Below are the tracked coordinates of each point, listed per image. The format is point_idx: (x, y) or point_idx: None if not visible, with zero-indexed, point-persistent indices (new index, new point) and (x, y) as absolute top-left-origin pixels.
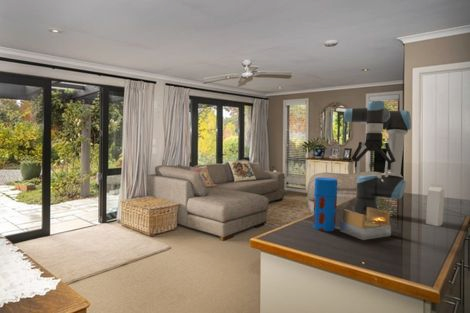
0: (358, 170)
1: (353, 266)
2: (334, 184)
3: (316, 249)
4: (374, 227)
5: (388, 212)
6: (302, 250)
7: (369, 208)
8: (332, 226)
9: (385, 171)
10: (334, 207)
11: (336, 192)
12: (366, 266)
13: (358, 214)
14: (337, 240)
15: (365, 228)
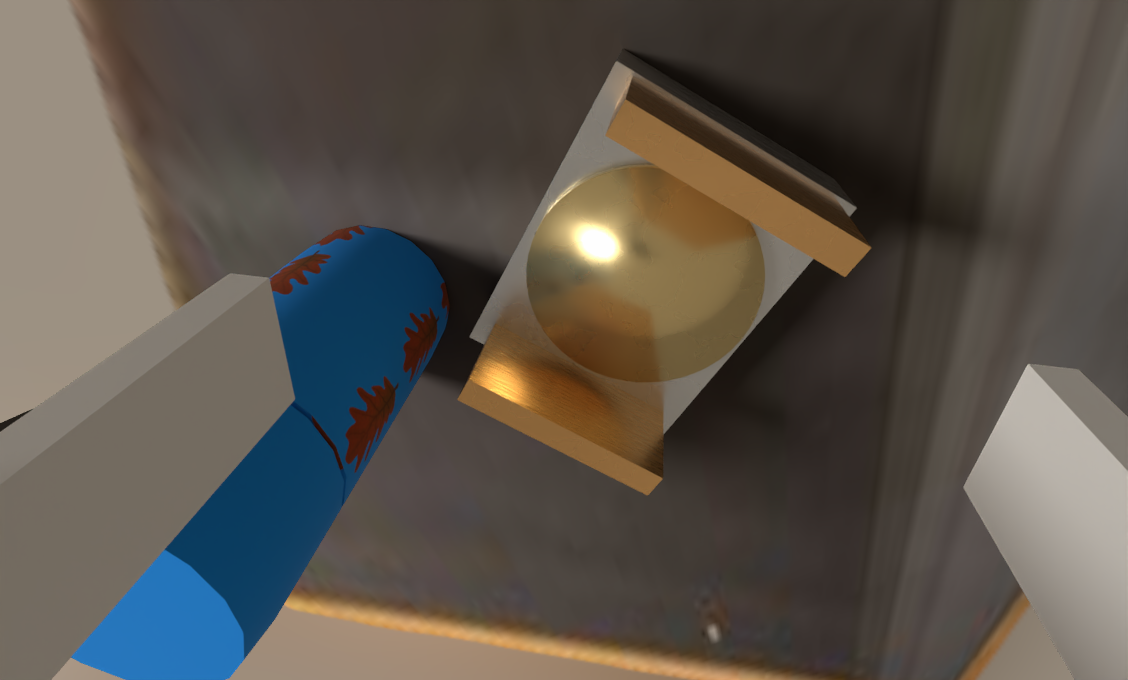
0: (234, 430)
1: (689, 667)
2: (277, 609)
3: (519, 597)
4: (724, 359)
5: (856, 264)
6: (483, 623)
7: (639, 153)
8: (438, 340)
9: (1035, 609)
10: (388, 417)
11: (323, 492)
12: (730, 654)
13: (610, 473)
14: (544, 465)
15: (670, 417)
